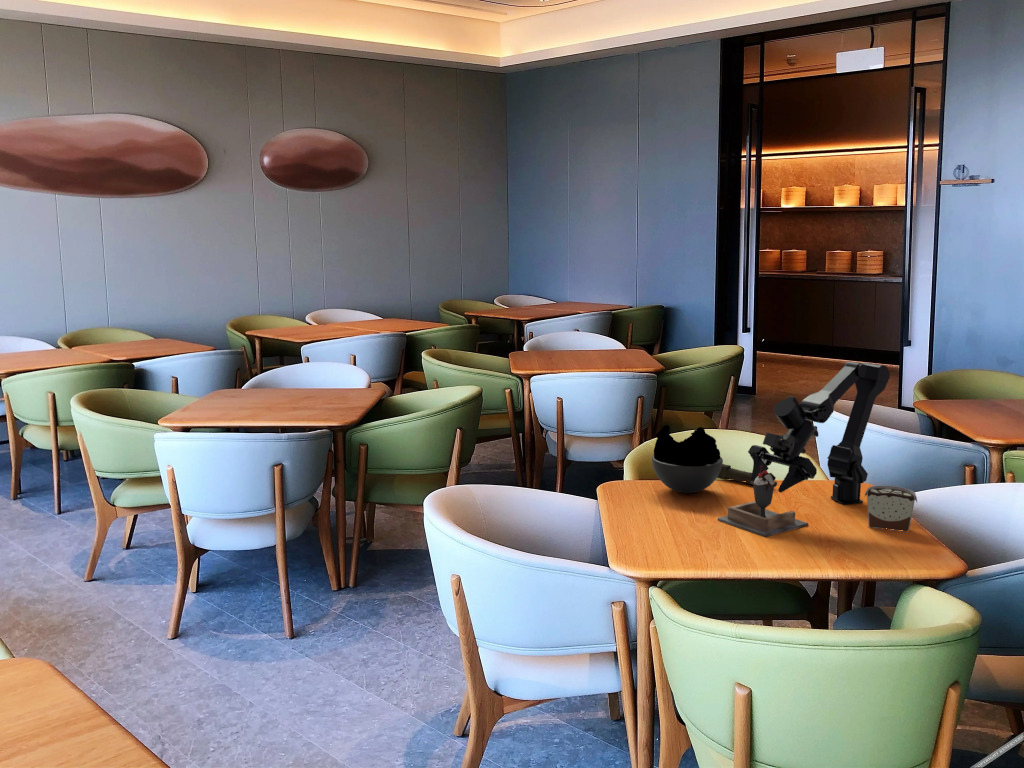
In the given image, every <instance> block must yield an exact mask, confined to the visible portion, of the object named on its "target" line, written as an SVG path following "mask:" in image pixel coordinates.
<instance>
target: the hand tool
mask: <svg viewBox="0 0 1024 768" xmlns="http://www.w3.org/2000/svg"><path fill="white" fill-rule="evenodd" d="M751 476H752V471H750V472H748V471H745V470H740V469H736V468H732V466H731V465H729V464H724V463H723V464H722V468H721V471H720V473H719V475H718V477H717V478H716V479H721V480H724V481H727V480H732V481H734V482H735V481H736V482H740V481H746V482H743V483H744V484H749V485H753V484H751V482H750V481H751Z"/></svg>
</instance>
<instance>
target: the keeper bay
mask: <svg viewBox="0 0 1024 768" xmlns="http://www.w3.org/2000/svg"><path fill="white" fill-rule="evenodd" d="M760 512H761V508H760V507H759V506H758V505H757V504H756V502H755V500H753V501H750V502H749V501H748V502H746V503H741V504H738V505H733V506H728V507H727V515H725V516H720V517H717V521H719V522H721V523H725V524H727V525H730V526H732V527H735V528H739V529H742V530H744V531H747V532H750V533H752V534H756V535H758V536H761V537H764V538H768V537H771V536H773V535H774V536H775V535H778V534H781V533H784V532H785V533H786V532H788V531H793V530H797V529H800V528H803V527H806V526H809V522H806V521H803V520H801V519H797V518H796V511H794V510H790V511H786V512H782V513H778V512H775V511H772V510H770V509H767V508H765V516H766V518H764V517H761V516H759V515H760Z"/></svg>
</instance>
